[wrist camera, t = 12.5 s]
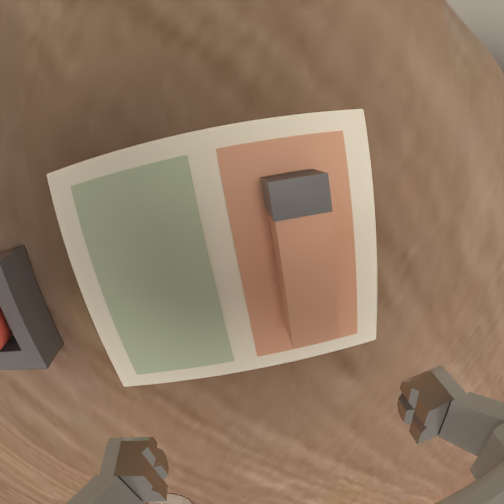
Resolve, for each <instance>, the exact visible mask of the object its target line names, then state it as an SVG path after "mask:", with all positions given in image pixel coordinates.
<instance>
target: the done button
mask: <svg viewBox="0 0 504 504" xmlns="http://www.w3.org/2000/svg"><path fill="white" fill-rule="evenodd" d="M12 336H13V332H12V330H11V328H10V326H9V324H8V322H7V320H6V318H5V316H4V313H3V311H2V309H1V307H0V350H1V349H2V347H3V346H4V345H5V344H6V343H7V341H8V340H9V339H10V338H11V337H12Z"/></svg>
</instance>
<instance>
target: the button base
mask: <svg viewBox="0 0 504 504" xmlns="http://www.w3.org/2000/svg"><path fill="white" fill-rule="evenodd" d="M0 307H1V309H2V311H3V313H4V316H5V318H6V320H7V322H8V324H9V326H10V328H11V330H12V332H13V336H12V337H11V338H10V339H9V340H8V341H7V343H6V344H5V345H4V346H3V347H2V349H1V350H0V370H14V369H48V367H49V366H50V364H51V362H52V361H53V359H54V358H55V356H56V354H57V353H58V351H59V350H60V348H61V347H62V345H63V344H64V343H63V341H62V339H61V337H60V335H59V333H58V331H57V329H56V327H55V324H54V322H53V320H52V318H51V316H50V313H49V311H48V309H47V306H46V304H45V301H44V299H43V297H42V294H41V292H40V289H39V287H38V284H37V281H36V279H35V276H34V273H33V270H32V268H31V265H30V262H29V259H28V256H27V253H26V250H25V247H24V245H23V246H20V247H17V248H14V249H10V250H7V251H4V252H1V253H0Z"/></svg>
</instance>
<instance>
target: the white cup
mask: <svg viewBox="0 0 504 504" xmlns="http://www.w3.org/2000/svg"><path fill="white" fill-rule="evenodd" d="M149 504H192V502H191V501H190V500H189V499H187V498H185V497H183V496H180V495H176V494H170V493H167V501H156V502H149Z"/></svg>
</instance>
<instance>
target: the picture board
mask: <svg viewBox="0 0 504 504" xmlns="http://www.w3.org/2000/svg"><path fill="white" fill-rule="evenodd" d="M307 169H315V170H319V171H322V172H326V173H328V177H329V185H330V193H331V202H332V212H330V216H331V226H332V237H333V248H334V261H335V274H336V290H337V308H338V331H339V338H337V339H333V340H329V341H325V342H321V343H317V344H312V345H308V346H304V347H300V348H295V349H293V347H292V344H291V341H290V338H289V336H288V333H287V330H286V327H285V322H284V315H283V308H282V301H281V294H280V288H279V281H278V274H277V268H276V261H275V255H274V248H273V242H272V236H271V229H270V223H269V217H268V213H267V211H266V207H265V201H264V195H263V189H262V183H261V177H263V176H269V175H275V174H281V173H287V172H294V171H300V170H307ZM47 179H48V183H49V188H50V192H51V196H52V200H53V204H54V208H55V212H56V216H57V219H58V223H59V226H60V230H61V233H62V237H63V240H64V243H65V246H66V250H67V253H68V256H69V259H70V262H71V265H72V268H73V271H74V274H75V276H76V279H77V282H78V285H79V287H80V290H81V293H82V295H83V298H84V300H85V303H86V305H87V308H88V310H89V313H90V315H91V318H92V320H93V323H94V325H95V327H96V329H97V332H98V334H99V336H100V339H101V341H102V343H103V345H104V347H105V349H106V352H107V354H108V356H109V358H110V360H111V362H112V364H113V366H114V368H115V370H116V372H117V374H118V376H119V378H120V380H121V382H122V384H123V386H124V387H127V386H139V385H149V384H159V383H168V382H176V381H184V380H192V379H199V378H206V377H212V376H219V375H225V374H231V373H237V372H242V371H248V370H253V369H258V368H263V367H268V366H273V365H278V364H283V363H287V362H292V361H296V360H301V359H305V358H309V357H313V356H317V355H321V354H325V353H329V352H333V351H337V350H341V349H344V348H348V347H352V346H355V345H359V344H362V343H366V342H369V341H372V340H376V324H377V246H376V224H375V208H374V194H373V183H372V172H371V163H370V154H369V146H368V138H367V131H366V124H365V117H364V111H363V109H354V110H339V111H326V112H315V113H306V114H296V115H288V116H280V117H273V118H266V119H259V120H252V121H246V122H240V123H234V124H228V125H223V126H218V127H212V128H207V129H202V130H198V131H193V132H188V133H184V134H179V135H175V136H171V137H166V138H162V139H158V140H154V141H150V142H146V143H143V144H139V145H135V146H132V147H128V148H124V149H121V150H117V151H114V152H111V153H107V154H104V155H101V156H98V157H94V158H91V159H88V160H85V161H82V162H79V163H76V164H73V165H70V166H68V167H65V168H62V169H59V170H56V171H54V172H51V173H48V174H47Z"/></svg>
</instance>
